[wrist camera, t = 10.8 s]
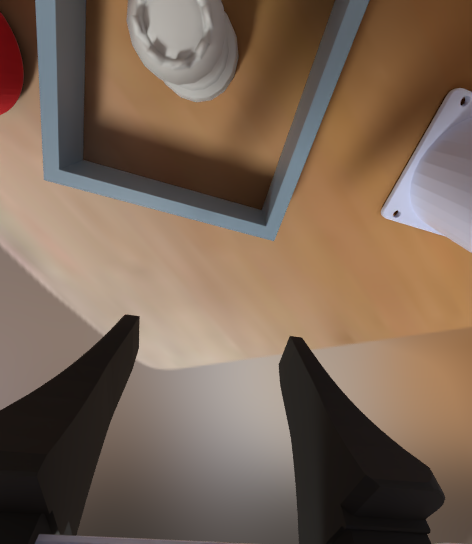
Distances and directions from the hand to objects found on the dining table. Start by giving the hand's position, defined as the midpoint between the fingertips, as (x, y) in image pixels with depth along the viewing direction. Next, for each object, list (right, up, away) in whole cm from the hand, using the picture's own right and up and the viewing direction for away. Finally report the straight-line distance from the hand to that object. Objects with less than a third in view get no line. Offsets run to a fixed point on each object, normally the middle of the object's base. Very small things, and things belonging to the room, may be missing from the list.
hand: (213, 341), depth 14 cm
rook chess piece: (-1, +15, +2) cm, 15 cm away
